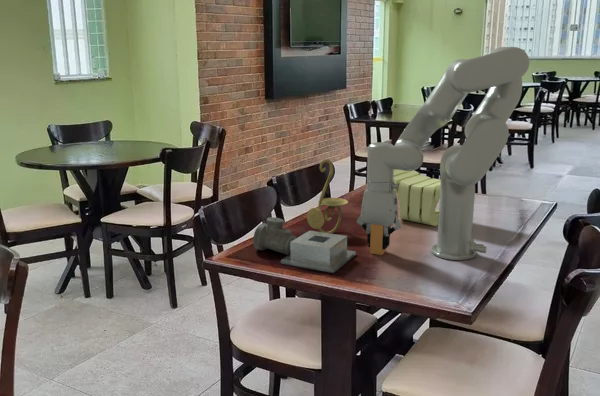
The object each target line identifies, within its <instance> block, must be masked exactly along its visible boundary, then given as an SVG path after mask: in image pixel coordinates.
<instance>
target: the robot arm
mask: <svg viewBox="0 0 600 396" xmlns="http://www.w3.org/2000/svg"><path fill="white" fill-rule="evenodd" d="M529 67H530V57H529V55H528V53H527V52H526V51H525V50H524V49H523V48H520V47H516V46H501V47H497V48H495V49H493V50H492V51H491V52H490V53H488V54H484V55H480V56H477V57H473V58H468V59H467V58H466V59H465V58H461V59H460V58H459V59H456V60H455V61H452V63H450V64H449V65H448V66H447V68H446V70H445V71H444V72H443V74H442V76H441V77H440V78H439V80H438V82H436V85H435V87H433V90H432V91H431V92H430V94H429V95H428V97H427V98H426V100H425V101H424V102H423V104H422V106H421V107H420V108H419V109H418V111H417V112H416V114H415V115H414V116H413V118H412V119H411V120H410V121H409V123H408V124H407V125H406V127H405V128H404V130H403V131H402V133H401V134H400V135H399V137H398V139H397V140H396V142H395V144H394V145H393V144H392V143H391V142H383V141H382V142H381V141H380V142H377V141H376V142H373V143H370V144H369V145H368V147H367V161H366V162H367V168H366V188H365V190H364V192H363V196H362V201H361V209H360V210H361V211H360V215H359V216H358V218H357V219H356V223H357V224H358V225H359V226H361V227H362V229H364V231H365V233H366V234H367V236H366V237H367V240H366V241H367V244H368V248H370V239H371V224H375V225H382V226H383V227H384V236H383V246H382V249H384V250H385V249H386V250H387V248H388V247H390V242H391V240H390V239H391V238H390V236H391V234H393V232H395V231H398V230H401V229H402V227H403V224H402V223H401V221H400V219H399V205H398V204H399V200H398V193H396V191H394V190H393V189H395V188H396V189H397V188H398V184H396V183H394V169H397V170H404V171H416V170H418V169H419V168H420V167H421V166H422V165H423V163H424V153H423V151H422V149H423V148H424V146H425V145H426V143H427V142H428V141H429V139H430V138H431V137H432V135H433V134H434V133H435V132H436V131H438V130H439V129H441V128H442V127H444V126H446V124H448V123H449V122H450V121H451V120H452V118H453V117H454V115H455V114H456V112H457V110H458V109H459V108H460V106H461V105H462V103H463V102H464V101H465V98H466V97H467V96H468V95H469V93H475V92H480V91H483V90H487V89H488V90H487V93H486V94H485V95H484V98H483V99H482V101H481V102H480V104H479V105H478V106H477V108H476V110H475V111H474V113H473V114H472V116H471V117H470V118H469V119H468V121H467V123H466V124H465V127H464V136H465V138H466V139H465V141H464V142H463V143H462V144H456V145H451V146H450V147H448V148H446V150H444V152H443V154H442V156H441V158H440V164H439V169H440V170H439V172H440V175H439V176H440V177H439V178H440V180H441V188H440V199H439V206H438V207H439V209H438V210H439V223H438V225H437V226H438V227H437V243H436V244H434V245H432V246H431V253H432V254H433V255H434V256H436V257H438V258H441V259H446V260H451V261H467V260H470V259H473V258H475V257H476V255H477V253H481V254H487V251H488V250H487V249H488V248H487V245H486V246H485V244H483V243H476V242H475V238H474V237H473V225H474V223H473V222H474V211H475V210H474V209H475V200H476V198H475V197H476V184H477V183H479V182H480V181H481V180H482V179H483V177H484V176H485V175H486V174H487V173H488V171H489V170H490V168H491V167H492V166H493V164H494V163H495V161H496V160H497V158H498V157H499V155H500V154H501V153H502V151H503V150H504V149H505V147H506V145H507V142H508V138H509V131H510V130H509V127H508V125H507V122H508V120H509V119H510V117H511V115H512V113H513V112H514V110H515V108H516V107H517V105H518V104H519V102H520V100H521V97H522V93H523V92H522V91H523V76H525V74H526V73H527V72H528V70H529Z"/></svg>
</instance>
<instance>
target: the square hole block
mask: <svg viewBox="0 0 600 396" xmlns="http://www.w3.org/2000/svg"><path fill="white" fill-rule="evenodd" d="M290 251H291V254H290V255H286V256H285V257H284V258H283V257H282V259H281V260H280V264H282V265H287V266H293V267H297V268H304V269H309V270H314V271H315V270H316V271H321V272H326V273H332V274H334V273H335V272H336V271H338V270H339V269H340V268H341V267H343V266H344V265H345V264H346V263H348V262H349V261H350V260H351V259H353V258H354V257H355V256H356V255H357V251H354V250H348V235H342V234H335V233H332V234H330V233H323V232H320V231H315V230H308V231H307V232H305V233H303V234H301V235H300V236H298V237H296V239H295V240H293V241H291V242H290ZM347 261H348V262H347Z"/></svg>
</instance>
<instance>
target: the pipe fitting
mask: <svg viewBox="0 0 600 396" xmlns="http://www.w3.org/2000/svg"><path fill="white" fill-rule="evenodd" d="M284 223H285V220H284V219H282V218H280V217H273V216H271V217H266V222H263V223H260V224H258V225H257V227H256V228H255V230H254V233H253V238H252V244H253V247H254V248H255V249H256V250H259V251H265V250H270V251H271V250H272V251H274V252H278V253H281V254H284V255H286V256H288V255H290V254H291V251H290V242H291V241H293V240H295V239H296V238H297V236H295V235H294V234H293V233H292V231H291V230H290V229H288V228H284V227H283V226H284Z"/></svg>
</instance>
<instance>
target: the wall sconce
mask: <svg viewBox="0 0 600 396" xmlns="http://www.w3.org/2000/svg"><path fill="white" fill-rule="evenodd" d="M325 163H328V164H329V173H328V176H327V179H326V182H325V184H324V186H323V189H322V190H321V194H320V196H319V200H318V204H317V208H316V207H313V208H312V207H311V208H310V209H309V210H308V212H307V214H306V219H307V223H308V224H309V226H310V227H311V228H312V229H315V230H318V232H323V233H330V234H334V233H335V232H336V231H337V229H338V228H339V226H340V224H341V222H342V209H341V206H345V205H347V204H349V201H348V199H345V198H340V197H326V198H324V197H325V193H326V190H327V188H328V186H329V183H330V181H331V179H332V176H333V172H334V166H333V163H332V161H331V160H330V159H329V158H324V159H322V161H321V162H320V164H319V169H318V170H319V171H320V172H321V173H325V172H326V170H327V168H326V167H324V168H323V166H324V164H325ZM322 206H326V207H327V208H326V209H325V211H324V214H323V212H322V211H321V209H322ZM335 208H336V209H337V211H338V217H337V218H338V219H337V223H336V224H335V226H334V227H333V228H332V229H331V230H329V231H324V229H323V228H322V227H323V225H325V221H328V222H329V221H331V220H332V219H333V218H332V217H328V215H329V211H330V210H331V211H330V213H331V216H335V212H336V210H334V209H335Z"/></svg>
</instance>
